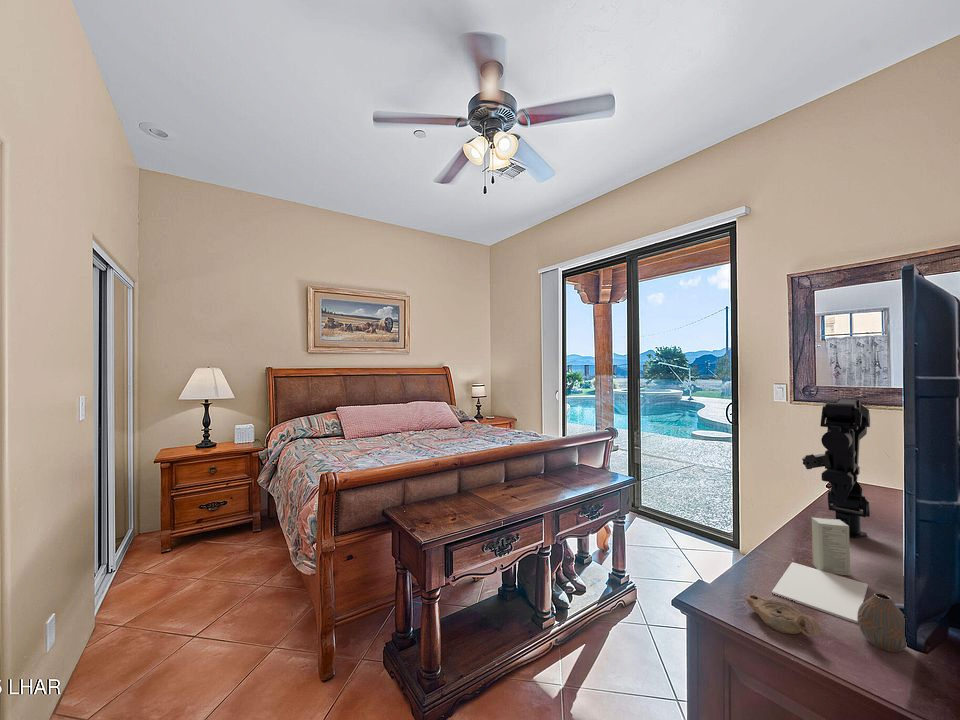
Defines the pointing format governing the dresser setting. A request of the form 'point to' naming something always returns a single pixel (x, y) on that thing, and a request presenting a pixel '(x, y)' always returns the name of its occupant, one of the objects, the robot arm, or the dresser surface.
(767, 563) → the dresser surface
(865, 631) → the vase
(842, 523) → the skincare box
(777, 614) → the oil lamp
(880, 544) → the dresser surface
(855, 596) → the notebook
